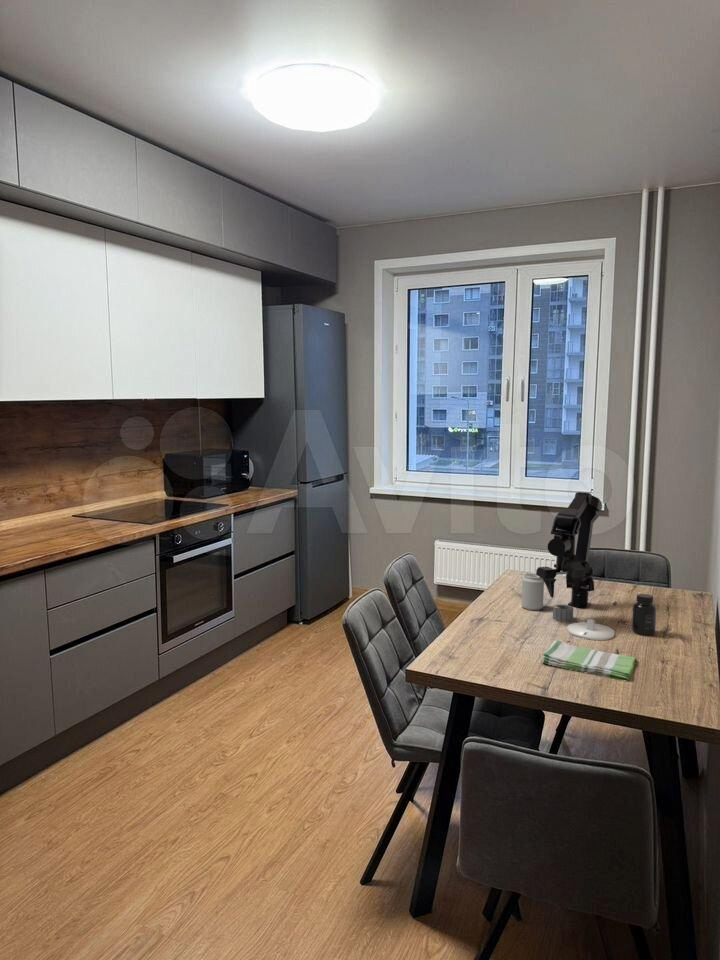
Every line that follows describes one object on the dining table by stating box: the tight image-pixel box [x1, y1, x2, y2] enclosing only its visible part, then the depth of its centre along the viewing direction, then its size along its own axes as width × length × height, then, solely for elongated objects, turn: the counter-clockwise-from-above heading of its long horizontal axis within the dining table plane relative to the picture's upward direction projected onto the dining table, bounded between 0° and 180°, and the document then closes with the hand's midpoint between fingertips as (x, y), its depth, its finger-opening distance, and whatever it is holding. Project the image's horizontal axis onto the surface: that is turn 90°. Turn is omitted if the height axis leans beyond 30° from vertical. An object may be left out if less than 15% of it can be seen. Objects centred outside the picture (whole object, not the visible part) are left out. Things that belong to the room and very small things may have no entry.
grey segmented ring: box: [552, 603, 574, 623], centre depth 220 cm, size 6×6×4 cm
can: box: [521, 572, 545, 611], centre depth 231 cm, size 8×8×12 cm
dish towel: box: [541, 640, 638, 682], centre depth 182 cm, size 17×23×4 cm
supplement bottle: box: [631, 593, 657, 636], centre depth 206 cm, size 7×7×12 cm
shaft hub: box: [567, 618, 615, 641], centre depth 206 cm, size 14×14×4 cm
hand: (563, 596), depth 219 cm, fingers open, 9 cm apart
